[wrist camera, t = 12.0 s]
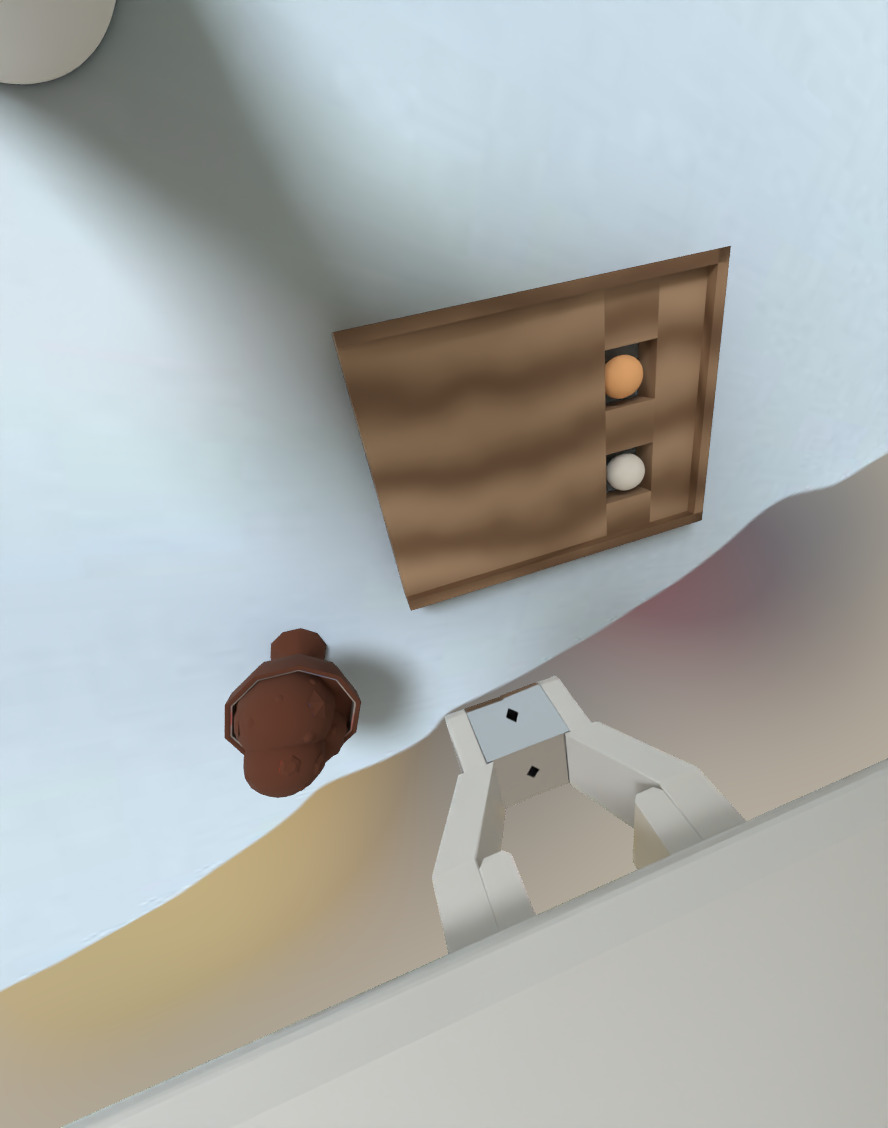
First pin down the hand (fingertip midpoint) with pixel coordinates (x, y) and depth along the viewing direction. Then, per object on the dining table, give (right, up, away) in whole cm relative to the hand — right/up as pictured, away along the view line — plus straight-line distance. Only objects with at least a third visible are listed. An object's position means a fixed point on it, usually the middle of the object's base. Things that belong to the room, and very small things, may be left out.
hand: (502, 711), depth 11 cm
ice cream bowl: (-16, -5, +34) cm, 38 cm away
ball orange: (+14, +20, +28) cm, 37 cm away
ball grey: (+16, +13, +32) cm, 38 cm away
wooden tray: (+7, +16, +30) cm, 35 cm away
